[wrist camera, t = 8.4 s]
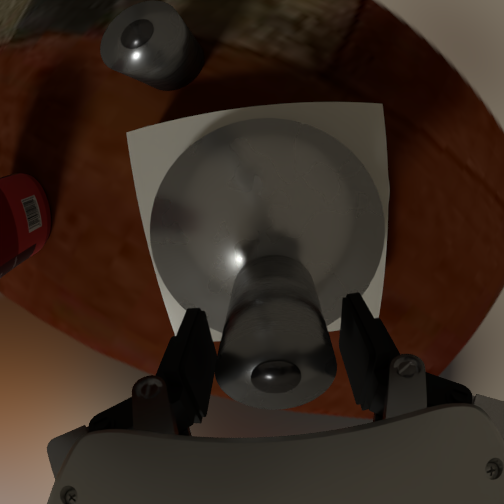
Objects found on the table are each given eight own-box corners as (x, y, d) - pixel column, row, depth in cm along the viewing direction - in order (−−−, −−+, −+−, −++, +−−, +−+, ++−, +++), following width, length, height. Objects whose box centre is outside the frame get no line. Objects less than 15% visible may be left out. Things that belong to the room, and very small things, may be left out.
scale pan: (136, 142, 12) (129, 143, 12) (374, 116, 11) (381, 114, 11) (183, 337, 17) (180, 345, 16) (370, 320, 16) (374, 328, 15)
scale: (152, 133, 16) (123, 132, 12) (363, 111, 15) (391, 103, 11) (189, 310, 22) (176, 345, 17) (364, 293, 20) (384, 326, 16)
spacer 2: (226, 258, 14) (202, 336, 8) (313, 251, 13) (342, 325, 8) (238, 327, 15) (226, 412, 10) (314, 321, 15) (332, 405, 9)
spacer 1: (142, 46, 14) (100, 18, 8) (201, 30, 13) (177, -10, 8) (146, 97, 15) (100, 83, 10) (207, 83, 15) (181, 56, 9)
